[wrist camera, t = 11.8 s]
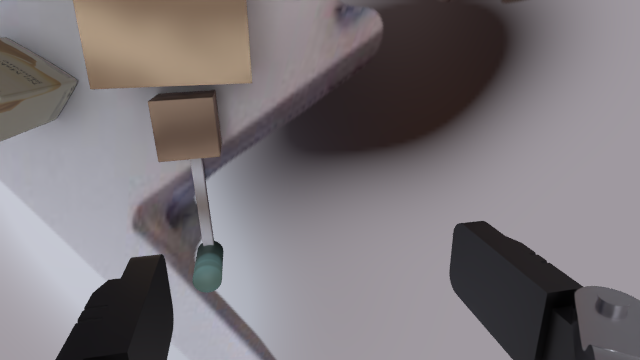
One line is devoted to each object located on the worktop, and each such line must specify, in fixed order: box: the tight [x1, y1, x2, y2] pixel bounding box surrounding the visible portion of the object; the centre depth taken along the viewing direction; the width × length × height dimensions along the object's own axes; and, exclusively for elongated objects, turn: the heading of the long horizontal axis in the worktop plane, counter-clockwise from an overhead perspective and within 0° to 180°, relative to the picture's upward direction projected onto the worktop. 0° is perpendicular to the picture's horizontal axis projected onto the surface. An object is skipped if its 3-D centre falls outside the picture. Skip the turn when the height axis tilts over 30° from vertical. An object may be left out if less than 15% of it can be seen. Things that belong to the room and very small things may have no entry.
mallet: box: [148, 90, 223, 292], centre depth 38 cm, size 18×5×6 cm, turn 3°
